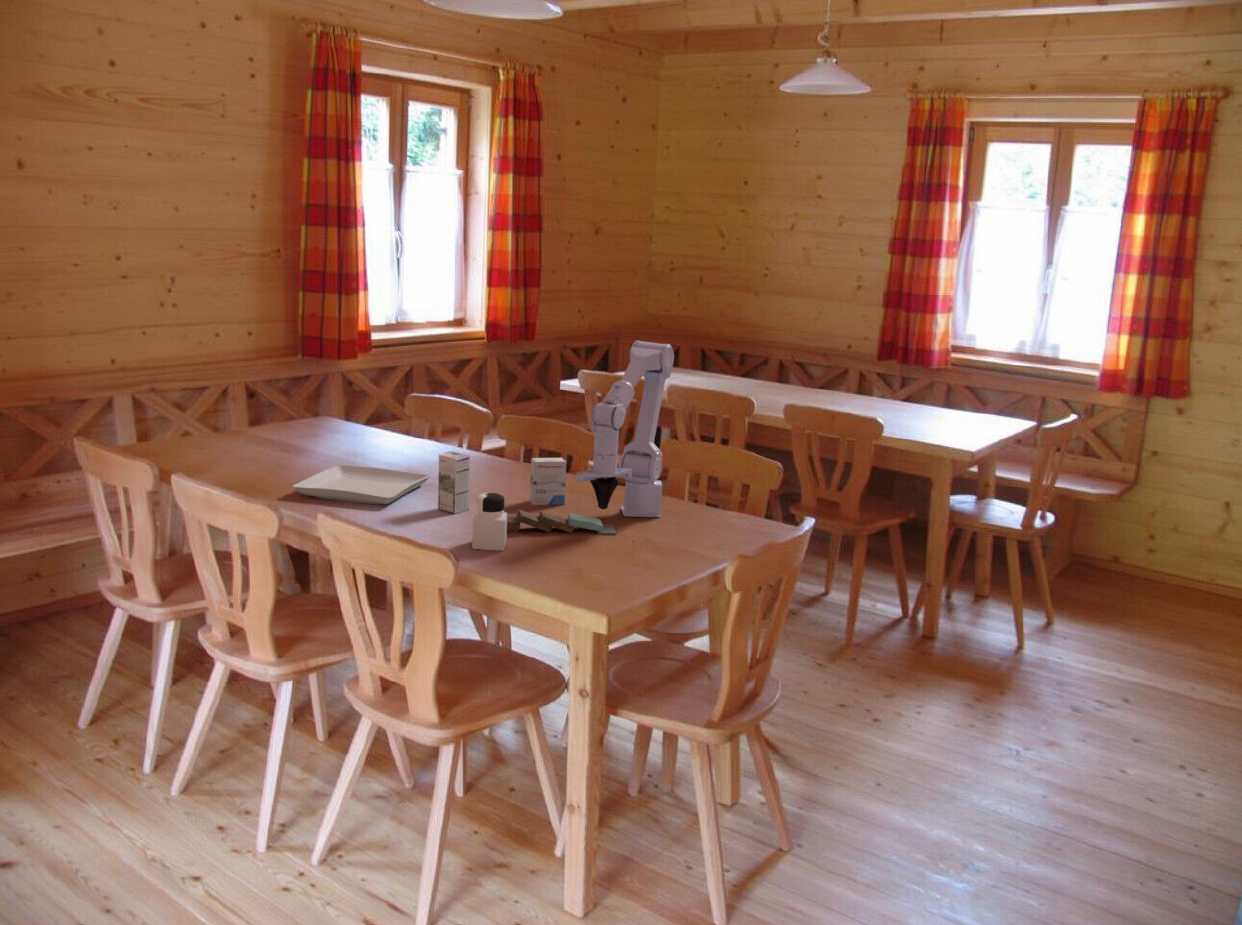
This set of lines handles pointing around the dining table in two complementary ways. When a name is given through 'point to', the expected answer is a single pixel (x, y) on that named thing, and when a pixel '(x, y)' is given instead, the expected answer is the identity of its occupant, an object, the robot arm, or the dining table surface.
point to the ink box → (547, 481)
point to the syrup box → (453, 482)
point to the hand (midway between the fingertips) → (602, 508)
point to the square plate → (360, 484)
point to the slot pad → (607, 530)
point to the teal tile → (585, 522)
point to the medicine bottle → (490, 523)
